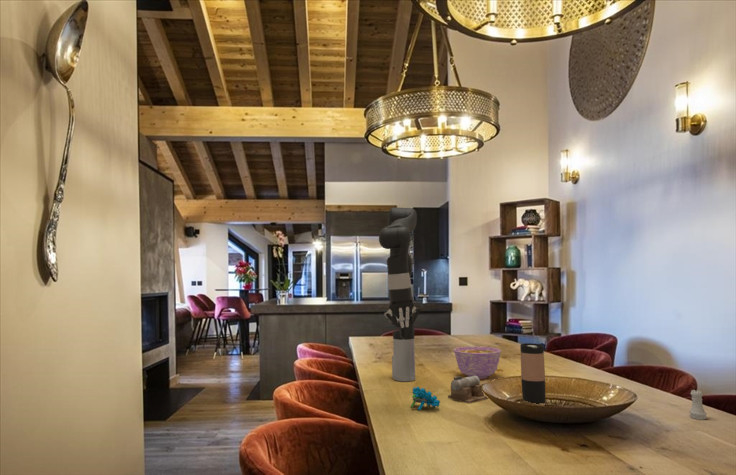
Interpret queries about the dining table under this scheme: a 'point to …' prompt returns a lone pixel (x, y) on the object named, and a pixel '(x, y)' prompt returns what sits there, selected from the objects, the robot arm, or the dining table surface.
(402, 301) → the robot arm
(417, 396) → the gear
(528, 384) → the travel mug
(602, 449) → the dining table surface
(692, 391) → the rook chess piece
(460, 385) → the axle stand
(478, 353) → the bowl of food
